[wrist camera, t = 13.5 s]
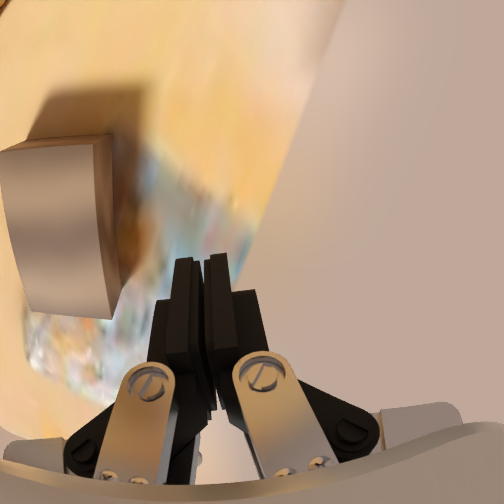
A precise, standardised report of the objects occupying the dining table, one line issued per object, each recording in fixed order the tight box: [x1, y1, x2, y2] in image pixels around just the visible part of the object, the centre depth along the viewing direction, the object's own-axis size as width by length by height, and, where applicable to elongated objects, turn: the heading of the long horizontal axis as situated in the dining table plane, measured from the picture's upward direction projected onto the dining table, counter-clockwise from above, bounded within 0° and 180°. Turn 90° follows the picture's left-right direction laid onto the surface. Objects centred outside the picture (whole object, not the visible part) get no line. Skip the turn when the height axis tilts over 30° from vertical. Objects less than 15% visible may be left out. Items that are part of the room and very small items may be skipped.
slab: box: [0, 134, 122, 320], centre depth 18 cm, size 12×7×4 cm, turn 173°
